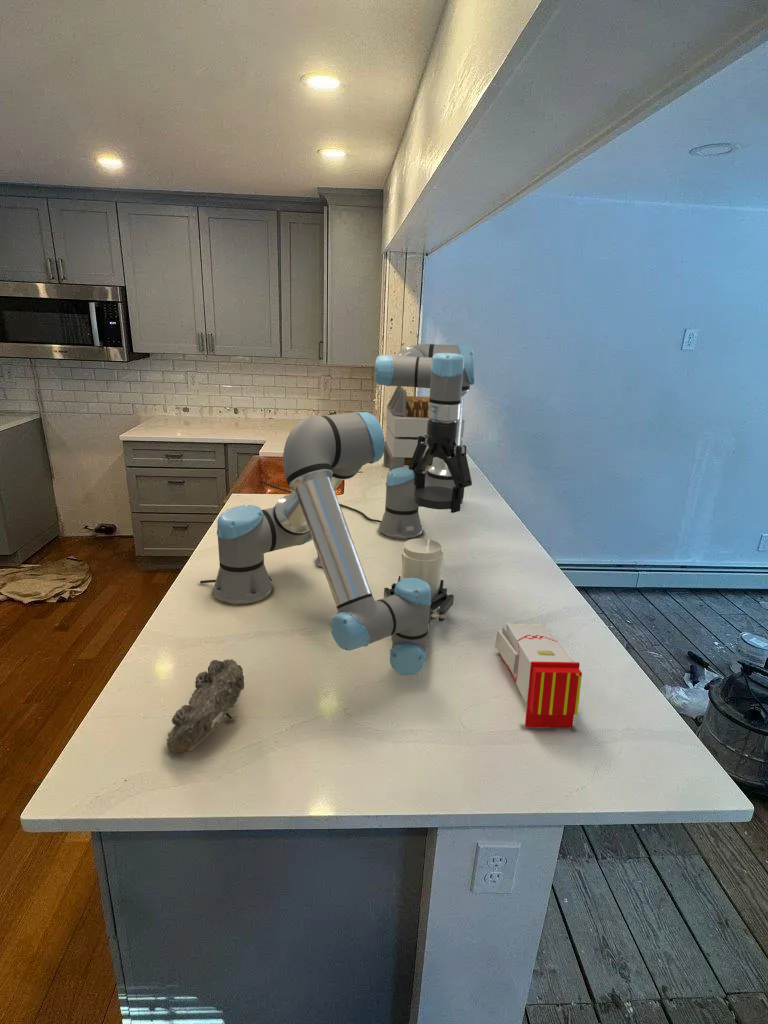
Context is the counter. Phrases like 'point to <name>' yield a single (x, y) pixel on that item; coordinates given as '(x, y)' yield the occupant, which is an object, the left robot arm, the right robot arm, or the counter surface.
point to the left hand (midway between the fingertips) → (420, 582)
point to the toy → (541, 674)
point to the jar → (423, 562)
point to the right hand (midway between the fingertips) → (436, 504)
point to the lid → (433, 497)
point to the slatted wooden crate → (406, 428)
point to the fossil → (206, 705)
